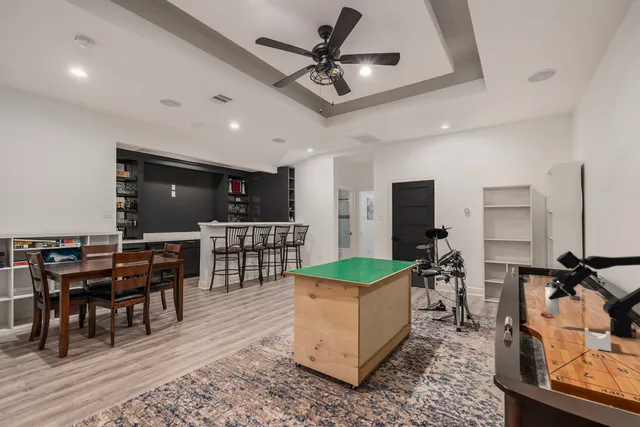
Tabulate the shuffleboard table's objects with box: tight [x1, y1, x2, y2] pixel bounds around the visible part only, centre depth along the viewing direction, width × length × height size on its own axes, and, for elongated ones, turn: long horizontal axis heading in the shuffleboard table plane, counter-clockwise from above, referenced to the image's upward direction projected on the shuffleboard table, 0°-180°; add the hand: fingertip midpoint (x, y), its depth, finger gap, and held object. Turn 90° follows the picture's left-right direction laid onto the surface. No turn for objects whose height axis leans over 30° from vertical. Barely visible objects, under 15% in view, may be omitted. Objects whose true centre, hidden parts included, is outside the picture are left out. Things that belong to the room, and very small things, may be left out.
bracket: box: [584, 327, 612, 352], centre depth 117 cm, size 13×7×8 cm, turn 138°
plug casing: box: [544, 282, 560, 316], centre depth 140 cm, size 5×5×14 cm
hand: (548, 297), depth 141 cm, fingers closed on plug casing, 5 cm apart
